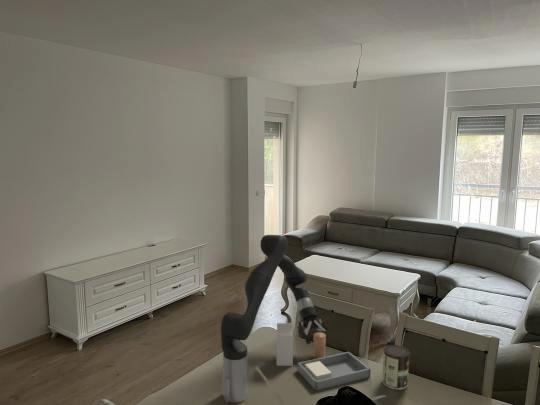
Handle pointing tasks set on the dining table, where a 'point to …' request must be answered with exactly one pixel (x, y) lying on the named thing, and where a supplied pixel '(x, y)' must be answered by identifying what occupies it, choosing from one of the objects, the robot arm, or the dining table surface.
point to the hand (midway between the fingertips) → (317, 342)
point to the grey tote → (336, 370)
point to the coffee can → (395, 367)
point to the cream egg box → (318, 370)
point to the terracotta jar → (319, 345)
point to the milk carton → (284, 344)
